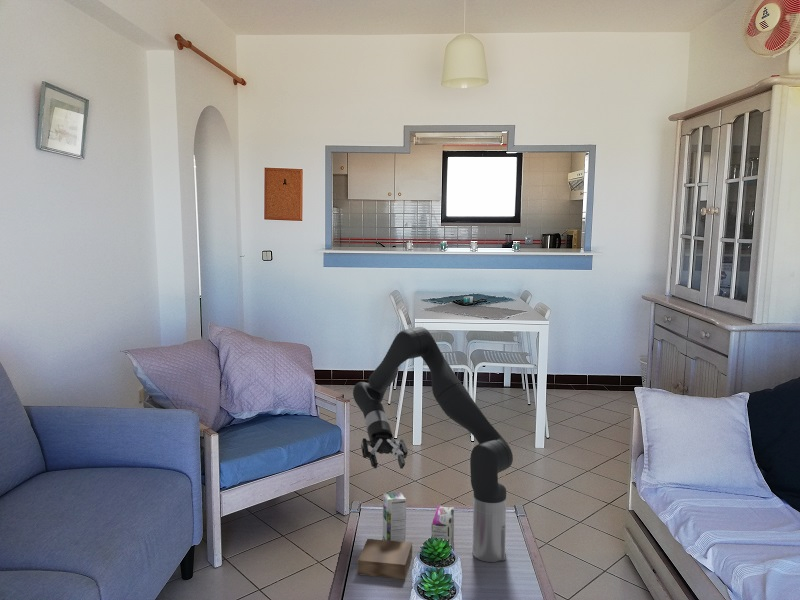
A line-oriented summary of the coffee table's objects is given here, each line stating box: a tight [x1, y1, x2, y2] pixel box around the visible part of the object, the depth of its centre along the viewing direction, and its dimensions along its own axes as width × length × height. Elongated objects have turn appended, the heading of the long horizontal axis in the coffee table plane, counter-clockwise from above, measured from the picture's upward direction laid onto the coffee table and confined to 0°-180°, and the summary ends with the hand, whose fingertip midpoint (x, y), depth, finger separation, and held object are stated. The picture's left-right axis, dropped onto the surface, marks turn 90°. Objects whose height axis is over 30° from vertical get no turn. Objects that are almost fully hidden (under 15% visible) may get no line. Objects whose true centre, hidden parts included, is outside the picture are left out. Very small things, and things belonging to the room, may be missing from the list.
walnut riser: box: [357, 538, 413, 580], centre depth 171 cm, size 13×12×4 cm
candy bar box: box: [431, 505, 455, 552], centre depth 167 cm, size 11×5×16 cm, turn 168°
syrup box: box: [382, 491, 407, 542], centre depth 183 cm, size 6×6×14 cm
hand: (389, 466), depth 187 cm, fingers open, 8 cm apart
